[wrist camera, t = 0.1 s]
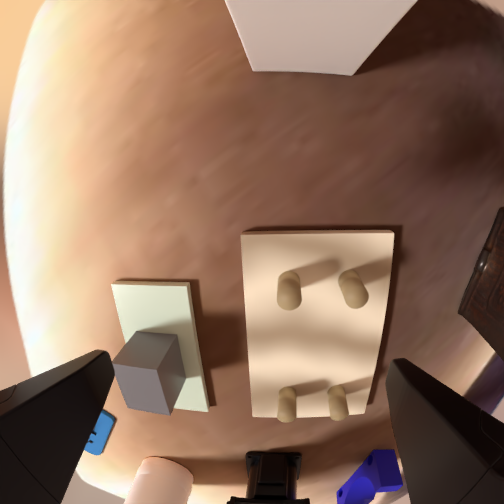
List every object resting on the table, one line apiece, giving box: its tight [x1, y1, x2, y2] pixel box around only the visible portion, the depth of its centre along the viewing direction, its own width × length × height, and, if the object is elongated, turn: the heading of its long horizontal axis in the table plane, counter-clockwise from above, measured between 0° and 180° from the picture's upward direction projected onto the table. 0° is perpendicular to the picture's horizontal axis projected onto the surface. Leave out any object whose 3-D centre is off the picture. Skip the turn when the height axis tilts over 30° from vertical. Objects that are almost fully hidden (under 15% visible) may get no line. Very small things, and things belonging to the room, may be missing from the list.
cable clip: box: [337, 450, 403, 504], centre depth 28 cm, size 12×4×6 cm, turn 169°
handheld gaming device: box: [84, 409, 115, 455], centre depth 33 cm, size 8×1×15 cm
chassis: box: [241, 230, 394, 422], centre depth 22 cm, size 18×11×4 cm, turn 3°
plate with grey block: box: [111, 281, 210, 415], centre depth 24 cm, size 7×14×6 cm, turn 3°
